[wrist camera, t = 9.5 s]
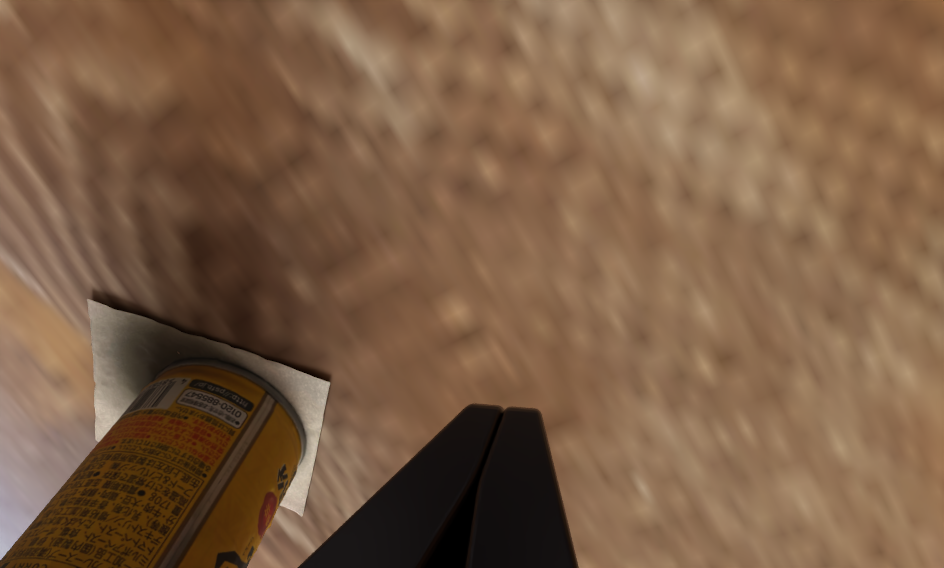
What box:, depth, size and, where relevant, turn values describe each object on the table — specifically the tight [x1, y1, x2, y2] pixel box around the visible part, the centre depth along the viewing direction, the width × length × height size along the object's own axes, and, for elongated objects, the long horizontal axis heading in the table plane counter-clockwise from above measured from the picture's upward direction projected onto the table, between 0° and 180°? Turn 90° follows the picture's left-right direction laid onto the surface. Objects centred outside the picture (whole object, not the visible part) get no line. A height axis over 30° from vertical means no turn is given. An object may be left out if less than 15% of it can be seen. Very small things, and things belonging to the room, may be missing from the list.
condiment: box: [0, 299, 330, 568], centre depth 24 cm, size 7×8×12 cm
